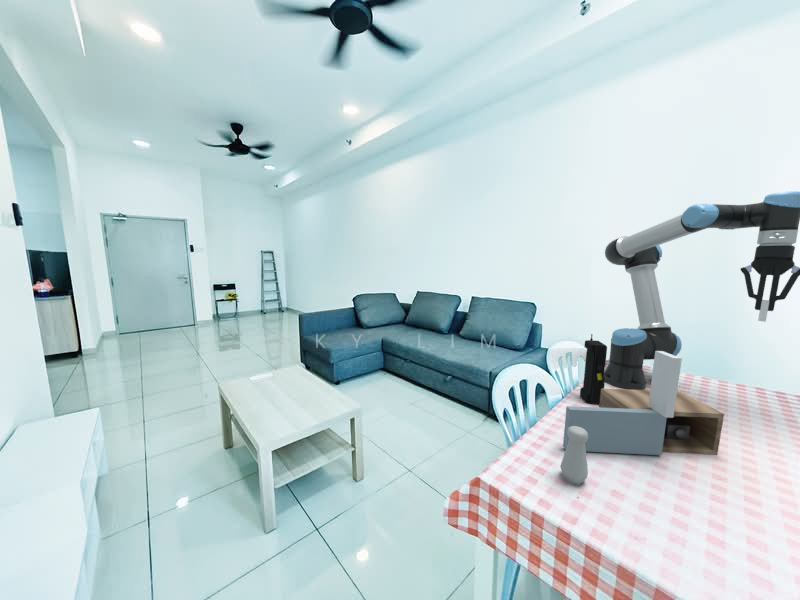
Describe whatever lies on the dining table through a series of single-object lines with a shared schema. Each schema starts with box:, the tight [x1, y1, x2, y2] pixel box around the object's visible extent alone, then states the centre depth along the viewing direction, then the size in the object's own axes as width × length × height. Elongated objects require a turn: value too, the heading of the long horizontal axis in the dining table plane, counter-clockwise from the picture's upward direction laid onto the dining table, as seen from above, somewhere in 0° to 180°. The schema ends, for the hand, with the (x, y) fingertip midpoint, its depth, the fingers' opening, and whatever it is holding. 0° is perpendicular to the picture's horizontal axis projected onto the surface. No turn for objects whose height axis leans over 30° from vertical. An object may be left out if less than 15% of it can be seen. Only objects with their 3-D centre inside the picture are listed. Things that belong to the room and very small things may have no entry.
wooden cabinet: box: [598, 388, 725, 456], centre depth 90 cm, size 24×14×12 cm, turn 86°
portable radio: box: [579, 334, 608, 405], centre depth 113 cm, size 8×6×25 cm
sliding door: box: [562, 351, 683, 456], centre depth 82 cm, size 25×6×28 cm, turn 86°
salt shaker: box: [559, 426, 589, 486], centre depth 73 cm, size 6×6×13 cm
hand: (761, 320), depth 95 cm, fingers closed
